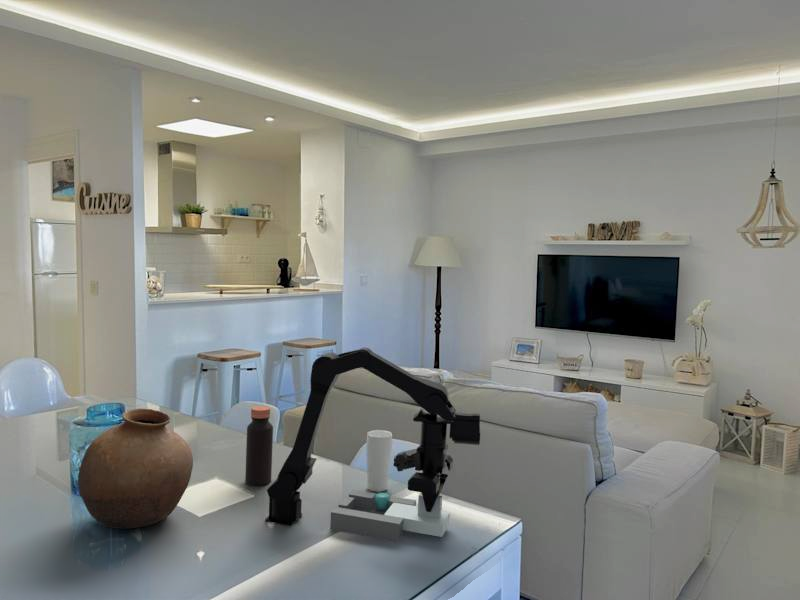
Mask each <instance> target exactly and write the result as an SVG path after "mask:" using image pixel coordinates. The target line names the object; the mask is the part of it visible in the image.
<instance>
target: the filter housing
mask: <svg viewBox="0 0 800 600" xmlns="http://www.w3.org/2000/svg"><path fill="white" fill-rule="evenodd" d="M376 494H377V493H376V492H367V491H361V490H354V489H353V490H351V491H350V492H349V494H348V496H345V498H344V499H342V500H341V501H340V502H339V503H338V506H335V507H334V508H333V509H332V510H331V511H330V525H329V527H330V528H329V529H331V531H336V530H337V532H342V533H347V534H353V535H359V536H364V537H369V538H374V539H381V540H386V541H389V542H395V543H399V542H400V541H401V539H402V538H403V536H404V534H405V533H406V532H407V531H405V530H403V518H397V517H392V516H386V515H384V514H385V513H386V511H387V510H388V509H389V508H390V506H391V505H392V504H393V503H400V504H406V505H412V506H417V500H416V499H410V498H405V497H399V496H398V497H397V496H392V497H390V500H389V508H388V509H387V510H379V509H376V508H375V501H376Z"/></svg>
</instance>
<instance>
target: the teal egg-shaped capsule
mask: <svg viewBox="0 0 800 600" xmlns="http://www.w3.org/2000/svg"><path fill="white" fill-rule="evenodd" d="M375 494H376V501H375V508H376V509H379V510H387V509H388V508H389V500H390V499H391V495H390V494H389V493H386V492H377V493H375Z"/></svg>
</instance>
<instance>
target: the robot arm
mask: <svg viewBox="0 0 800 600" xmlns="http://www.w3.org/2000/svg"><path fill="white" fill-rule="evenodd" d="M359 368H363V369H364V370H366V371H367V372H370V373H371V374H373V375H375V376H376V377H379V378H380V379H382V380H384V381H385V382H387V383H389V384H391V385H392V386H394V387H395V388H397V389H399V390H401V391H403V392H404V393H405V394H407V395H409V397H410V398H411V399H412V400H413V401H414V402H415V403H416V404H417V405H418V406H420V407H421V408H420V409H419V411H418V412H417V413H415V414H414V415H413V418H412V421H413V422H416V423H417V422H419V423H421V424H420V443H419V446H417V447H416V448H414V449H408V450H405V451H401V452H398V453H397V454H396V455H395V456H394V457H393V467H395V468H396V470H397V472H403V471H404V470H409V469H413V468H414V471H417V472H415V473H414V474H412V475H411V476H410V477H409V479H408V480H407V490H409V491H411V492H417V493H422V496H423V500H424V504H425V509H426V511H427V512H431V511H432V508H433V506H434V504H435V501H436V499H437V497H438V495H440V494H441V492H442V489H443V487H444V486H445V483H446V482H447V479H448V477H449V475H448V474H447V473H444V472H445V469H447V470H448V471H452V469H453V468H454V459H453V458H452V456H451V455H448V454H446V451H447V450H448V446H449V445H448V444H447V433H448V432H447V431H448V429H447V428H448V425H449V438H448V439H451V441H453V444H456V445H457V444H459V445H469V446H470V445H471V446H472V445H473V446H480V443H481V442H480V441H481V427H480V426H481V422H480V421H481V415H480V413H476V412H475V413H463V412H457V411H456V408H455V407H454V405H453V404H452V402H451V401H450V399H449V391H448V389H447V388H446V387H445V385H443V384H441V383H439V382H436V381H433V380H431V379H427V378H423V377H419V376H416V375H414V374H412V373H410V372H409V371H407V370H405V369H404V368H402V367H400V366H398V365H396V364H394V363H393V362H391V361H389V360H388V359H387V358H384V357H383V356H381V355H379V354H377V352H376V353H375V352H374V351H372V349H370V348H369V347H361V348H359V349H357V350H356V349H355V350H351V351H347V352H343V353H338V354H337V353H335V352H326V353H324V354H322V355H321V356H319V357H318V358H316V359H315V360H314V361H313V363H312V366H311V373H310V392H309V395H308V399H307V403H306V405H305V408H304V411H303V415H302V419H301V422H300V424H299V428H298V431H297V434H296V438H295V441H294V443H293V444H294V445H293V447H292V450H291V451H290V453H289V455H288V456H287V458H286V459H285V462H283V465H282V467H281V469H280V470H279V473H278V475H277V477H276V479H275V480H274V481H273V483H271V484H270V486H268V488H267V489H266V492H267V495H268V498H269V499H268V500H269V501H268V516H266V518H265V519H264V521H265V522H266V523H273V524H277V525H281V526H288V527H290V526H293V524H294V523H296V522H297V521H298V520H299V519H301V517H302V516H303V513H302V503H303V502H302V499H301V492H300V491H298V490H300V488H301V487H302V485H305V484H306V483H307V482H308V481H309V479H310V478H311V476H312V475H313V467H314V466H315V463H316V461H317V458H315V457H312V449H313V444H314V441H315V438H316V435H317V433H318V429H319V426H320V423H321V420H322V416H323V412H324V410H325V407H326V403H327V401H328V398H329V395H330V393H331V391H332V389H333V387H334V386H335V384H336V383H337V380H338V378H339V377H340V374H344V373H348V372H350V371H354V370H356V369H359ZM421 471H422V472H421Z"/></svg>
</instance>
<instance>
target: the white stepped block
mask: <svg viewBox="0 0 800 600" xmlns="http://www.w3.org/2000/svg"><path fill="white" fill-rule="evenodd" d="M442 508H443V495H440V494H439V495H438V497H437V499H436V501H435V504H434V506H433V508H432V511H431V512H427V511H426V509H425V504H424V500H423V496H422V492H419V494H418V501H417V505H416V506H412V505H406V504H400V503H393V504H392V505H391V506H390V508H389V509H388V510H387V511H386V513H385V514H384V515H386V516H392V517H397V518H403V530H405V531H406V532H411V533H416V534H417V533H419V534H422V535H427V536H428V535H430V536H435V537H441V538H443V536H444V534H445V533H446V530H447V529H448V526H449V524H450V516H451V515H450V514H451V511H448V510H443V509H442Z"/></svg>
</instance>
